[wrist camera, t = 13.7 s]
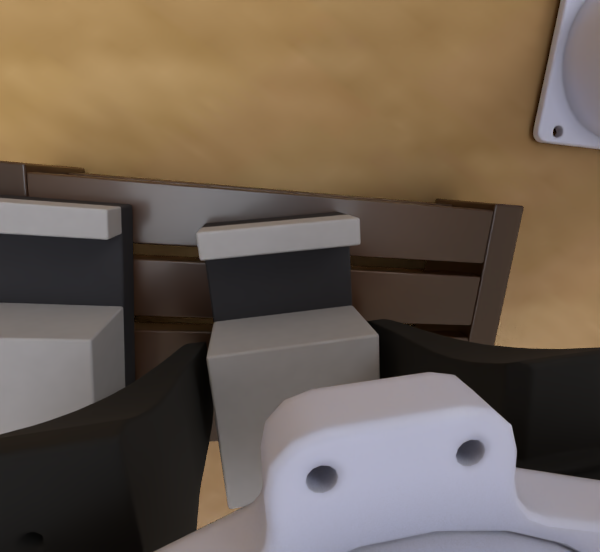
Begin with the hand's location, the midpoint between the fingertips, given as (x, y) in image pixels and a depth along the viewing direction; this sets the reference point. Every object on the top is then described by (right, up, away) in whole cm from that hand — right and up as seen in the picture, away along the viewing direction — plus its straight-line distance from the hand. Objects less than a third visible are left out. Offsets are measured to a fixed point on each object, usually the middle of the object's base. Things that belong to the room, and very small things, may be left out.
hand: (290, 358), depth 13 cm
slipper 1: (-8, +1, 0) cm, 8 cm away
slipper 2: (0, +1, +1) cm, 1 cm away
